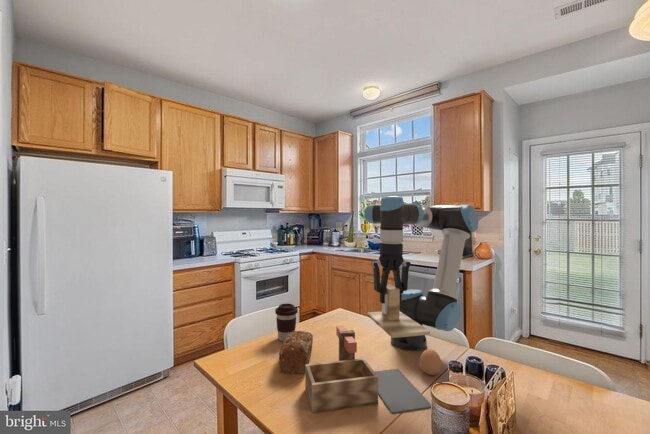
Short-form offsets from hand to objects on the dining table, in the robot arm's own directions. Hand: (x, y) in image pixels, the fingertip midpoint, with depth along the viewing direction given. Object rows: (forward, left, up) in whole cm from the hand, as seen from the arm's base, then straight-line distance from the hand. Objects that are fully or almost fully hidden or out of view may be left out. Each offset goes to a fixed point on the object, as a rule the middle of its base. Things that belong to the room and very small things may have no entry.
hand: (390, 312), depth 101 cm
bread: (+29, -20, -24) cm, 43 cm away
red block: (+12, -12, -14) cm, 22 cm away
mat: (0, +4, -24) cm, 24 cm away
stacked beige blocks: (0, +4, -3) cm, 5 cm away
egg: (-17, -2, -24) cm, 29 cm away
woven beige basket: (+18, -1, -24) cm, 30 cm away
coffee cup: (+30, -43, -24) cm, 58 cm away
